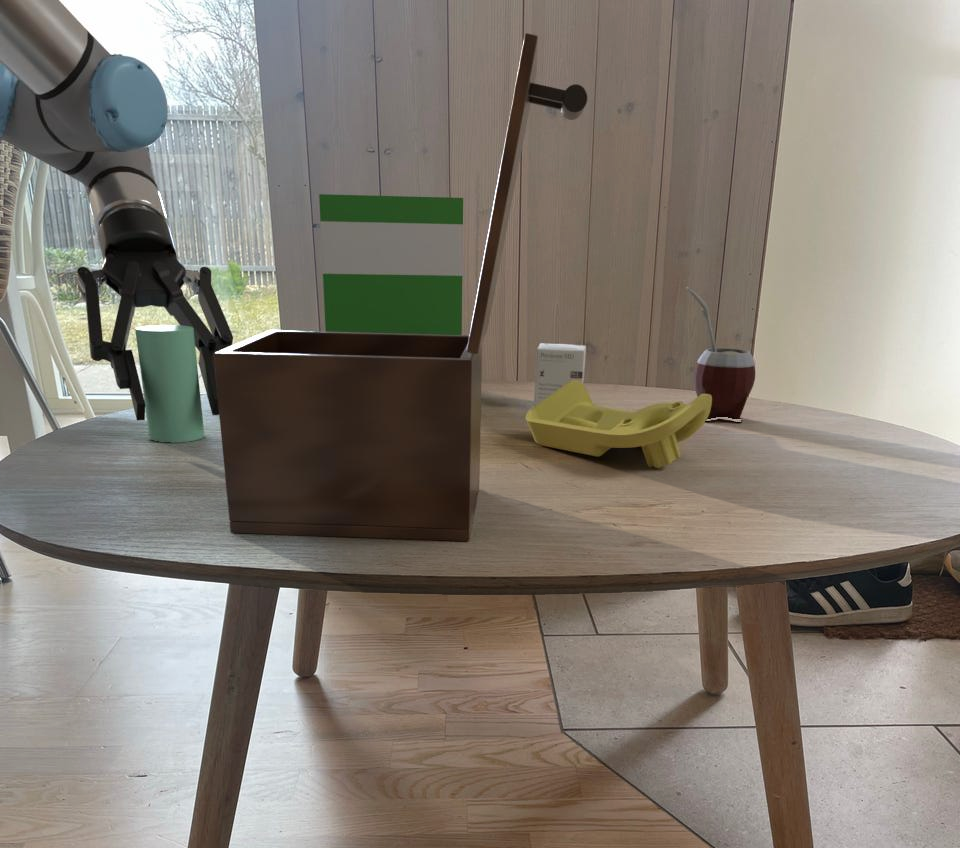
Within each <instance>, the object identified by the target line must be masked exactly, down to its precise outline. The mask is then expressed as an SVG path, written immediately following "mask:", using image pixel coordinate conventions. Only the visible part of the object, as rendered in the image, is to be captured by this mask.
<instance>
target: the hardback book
mask: <svg viewBox="0 0 960 848" xmlns="http://www.w3.org/2000/svg"><path fill="white" fill-rule="evenodd" d="M318 199H319V200H318V201H319V220H320V221H319V222H320V241H321V245H320V246H321V264H322V284H323V285H322V287H323V305H324V306H323V307H324V326H325V327H324V328H325V330H324V331H326V332H363V333H401V334H438V335H463V269H464V267H463V265H464V264H463V263H464V262H463V261H464V259H463V258H464V257H463V255H464V197H450V196H449V197H448V196H447V197H442V196H441V197H440V196H409V195H408V196H406V195H405V196H404V195H403V196H401V195H363V194H326V193H325V194H324V193H323V194H322V193H319V194H318Z"/></svg>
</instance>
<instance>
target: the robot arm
mask: <svg viewBox="0 0 960 848" xmlns="http://www.w3.org/2000/svg"><path fill="white" fill-rule="evenodd" d="M164 89H165V88H164V87H163V84H162V83H161V81H160V79H159V77H158V76H157V74H156V72H154V70H153V69H152V68H151V67H150V66H149V65H148V64H146V63H145V62H143V61H141V60H139V59H137V58H136V57H133V56H128V55H123V54H121V53H119V54H117V53H113V54H111V53H110V52H109V51H108V49H106V48H105V47H104V46H103V45H102V43H100V42H99V41H98V40H97V38H95V36H94V35H93V34H91V33H90V31H89V30H88V29H87V28H86V27H85V26H84V24H82V23H81V22H80V21H79V20H78V18H77V17H75V15H74V14H73V13H71V11H70V10H69V9H68V8H67V7H66V5H64V4H63V3H62V2H61V1H60V0H0V140H2V141H4V142H6V143H8V144H9V145H11V146H13V147H15V148H17V149H20V151H22V152H24V153H26V154H28V155H30V156H32V157H34V158H35V159H37V160H38V161H39V160H40V161H41V162H43V163H45V164H47V165H48V166H50V167H53V168H55V169H56V170H58V171H60V172H61V173H62V174H65V175H67V176H69V177H71V178H72V179H75V180H76V181H78V182H80V183H81V184H82V185H84V189H85V192H86V196H87V200H88V203H89V206H90V210H91V215H92V218H93V223H94V227H95V232H96V234H97V240H98V244H99V249H100V252H101V257H102V260H103V264H102V267H101V269H97V270H96V269H95V270H90V269H89V268H88V267H86V266H79V267H78V268H77V270H76V273H77V289H78V291H79V292H80V294H81V296H82V298H83V299H84V301H85V309H86V320H87V331H88V341H89V353H90V358H91V360H93V361H94V362H100V361H107V362H108V363H110V367H111V369H112V370H113V374H114V379H115V382H116V383H115V384H116V386H117V387H118V388H119V390H127V389H128V390H129V394H130V398H131V402H132V406H133V411H134V414H135V418H136V421H145V419H146V409H145V401H144V394H143V388H142V384H141V381H140V377H139V373H138V369H137V364H136V361H135V358H134V353H133V349H127V346H128V342H129V338H130V337H129V336H130V331H131V327H132V323H133V318H134V316H135V312H136V308H146V307H149V306H152V307H157V308H164V309H165V310H166V312H167V314H168V315H169V316H171V317H172V316H173V318H174V319H175V320H176V322H177V323H178V325H181V326H190V327H193V330H194V339H195V349H197V350H198V352H199V356H198V368H199V371H200V374H201V378H202V382H203V385H204V390H205V393H206V397H207V401H208V404H209V408H210V412H211V415H212V416H219V406H218V396H217V386H216V375H215V365H214V353H216V352H218V351H220V350H223V349H225V348H227V347H230V346H232V345H233V341H234V335H233V333H232V330H231V328H230V326H229V323H228V321H227V318H226V317H225V314H224V311H223V309H222V307H221V304H220V302H219V300H218V297H217V295H216V293H215V290H214V288H213V286H212V270H211V268H210V267H208V266H202V267H200V268H199V271H196V270H191V269H186V267H185V265H184V264H183V263H182V262H181V261H180V260H179V258H178V255H177V251H176V247H175V244H174V240H173V237H172V233H171V228H170V227H169V221H168V218H167V214H166V211H165V208H164V204H163V200H162V197H161V193H160V191H159V187H158V184H157V181H156V180H157V179H156V176H155V171H154V168H153V163H152V160H151V154H150V153H151V152H150V146H152V145H154V144H155V143H156V142H158V141H159V139H160V138H161V137H162V135H163V134H164V131H165V129H166V126H167V123H168V118H169V117H168V114H169V108H168V107H169V106H168V99H167V96H166V92H165V90H164ZM104 284H105V285H106V286H108V287H109V288H110V289H111V290H113V291H114V293H116V294H117V295H118V296H120V300H119V305H118V308H117V314H116V317H115V322H114V326H113V332H112V336H111V339H110V341H105V340H104V338H103V336H104V335H103V327H102V318H101V308H100V307H101V306H100V296H99V295H100V294H101V293H102V292H103V285H104ZM184 284H187V285H189V287H190V289H191V291H192V292H193V294H194V295H197V299H198V303H199V306H200V308H201V311H202V313H203V315H204V319H205V320H206V323H207V325H208V326H207V325H206V324H205V323H204V321H203V320H202V319H201V317H200V316H199V314H198V313H197V312H196V310H195V309H194V308H193V307H192V304H190V303H189V301H188V299H187V298H186V297H185V295H184V291H183V289H182V288H183V286H184ZM208 327H209V328H208Z"/></svg>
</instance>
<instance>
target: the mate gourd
mask: <svg viewBox="0 0 960 848" xmlns="http://www.w3.org/2000/svg"><path fill="white" fill-rule="evenodd" d="M685 290H686V291H688V293H689V294H690V295H691V296H692V297H693V298H694V299H695V300H696V301H697V302H698V304H699V306H700V307H701V313H702V315H703V316H702V317H704V320H705V325H706V330H707V334H708V340H709V345H710V348H707V349H705V350H704V351H703V352H702V354H701V355H700V356H699V357H698V359H697V363H696V366H695V368H694V374H693V375H694V377H693V379H694V380H693V383H694V390H695V394H696V398H697V397H698V396H699V395H701V394H710V395H711V396H712V404H711V409H710V413H709V416H708V418H707V419H711V418H716V417H728V418H732V419H743V418H742V413H743V411H744V409H745V406H746V404H747V400H748V397H749V396H750V395H751V392H752V389H753V387H754V385H755V382H756V381H755V379H756V362H755V360H754V357H753V355H752V353H751V352H750V351H748V350H746V349H739V348H726V347H717V346H716V341H715V337H714V332H713V327H712V323H711V318H710V315H711V313H710V312H711V311H710V309H709V306H708V305H707V304H706V302H705V301H704V300H703V299H702V297H701V296H700V295H699V294H697V293H696V292H695V291H693V290H692V289H691V288H690V287H688V286H686V287H685Z"/></svg>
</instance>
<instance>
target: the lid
mask: <svg viewBox="0 0 960 848" xmlns="http://www.w3.org/2000/svg"><path fill="white" fill-rule="evenodd" d="M538 41H539V36H538V35H537V34H532V33H528V32H525V33H524V36H523V42H522V47H521V52H520V59H519V63H518V69H517V74H516V80H515V84H514V91H513V97H512V102H511V107H510V113H509V118H508V124H507V127H506V134H505V140H504V145H503V151H502V155H501V162H500V167H499V171H498V172H499V173H498V178H497V184H496V188H495V194H494V200H493V205H492V209H491V210H492V211H491V216H490V220H489V226H488V233H487V237H486V242H485V243H486V244H485V249H484V255H483V260H482V265H481V271H480V275H479V282H478V287H477V292H476V298H475V304H474V310H473V315H472V319H471V325H470V331H469V341H468V346H467V352H469V353H474V354H478V352H479V350H480V347H481V345H482V346H483V342H484V340H485V337H486V335H487V333H488V329H489V323H490V319H491V314H492V310H493V309H492V307H493V302H494V298H495V294H496V293H495V291H496V287H497V283H498V277H499V272H500V266H501V261H502V255H503V250H504V245H505V240H506V236H507V235H506V234H507V230H508V225H509V220H510V214H511V210H512V209H511V208H512V204H513V203H512V202H513V197H514V193H515V187H516V183H517V177H518V173H519V172H518V171H519V167H520V161H521V156H522V151H523V147H524V140H525V135H526V130H527V124H528V120H529V115H530V110H531V105H537V106H540V107H546V108H550V109H555V110H558V111H559V110H560V112H561V114H562V116H563V118H565V119H566V120H569V121H574V120H577V119H578V118H580V117H581V116H582V114H583V112H584V110H585V108H586V106H587V103H588V93H587V92H588V91H587V90H586V88H585V87H583V86H582V85H580V84H577V83H576V84H575V83H574V84H571V85H569V86H568V87H566V89H561V88H557V87H553V86H548V85H545V84H544V85H543V84H539V83H535V82H536V77H537V71H538V70H537V69H538V67H537V66H538V48H539V47H538V45H539V44H538V43H539V42H538Z"/></svg>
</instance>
